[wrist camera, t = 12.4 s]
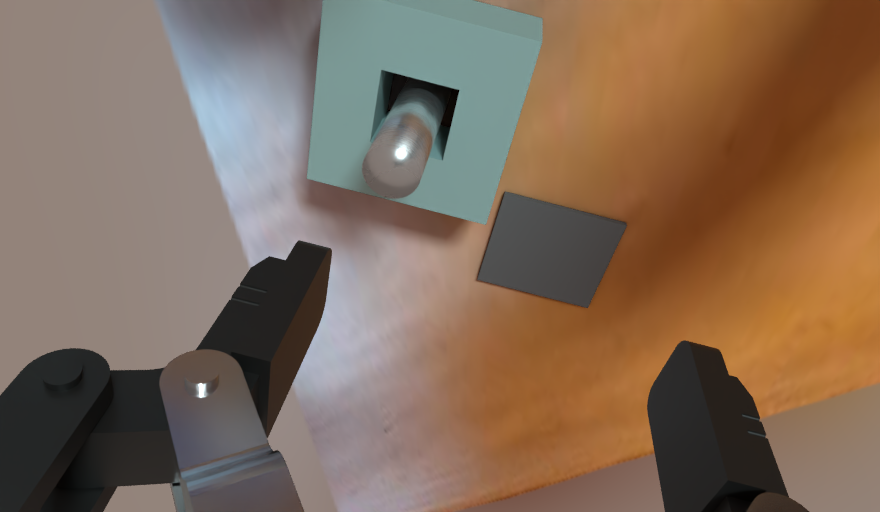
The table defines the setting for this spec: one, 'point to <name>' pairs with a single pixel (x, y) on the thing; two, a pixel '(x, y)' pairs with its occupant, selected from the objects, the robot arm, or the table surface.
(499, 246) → the mat
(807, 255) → the table surface
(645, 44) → the table surface
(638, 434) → the table surface
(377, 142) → the pin
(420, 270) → the table surface
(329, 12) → the socket block
